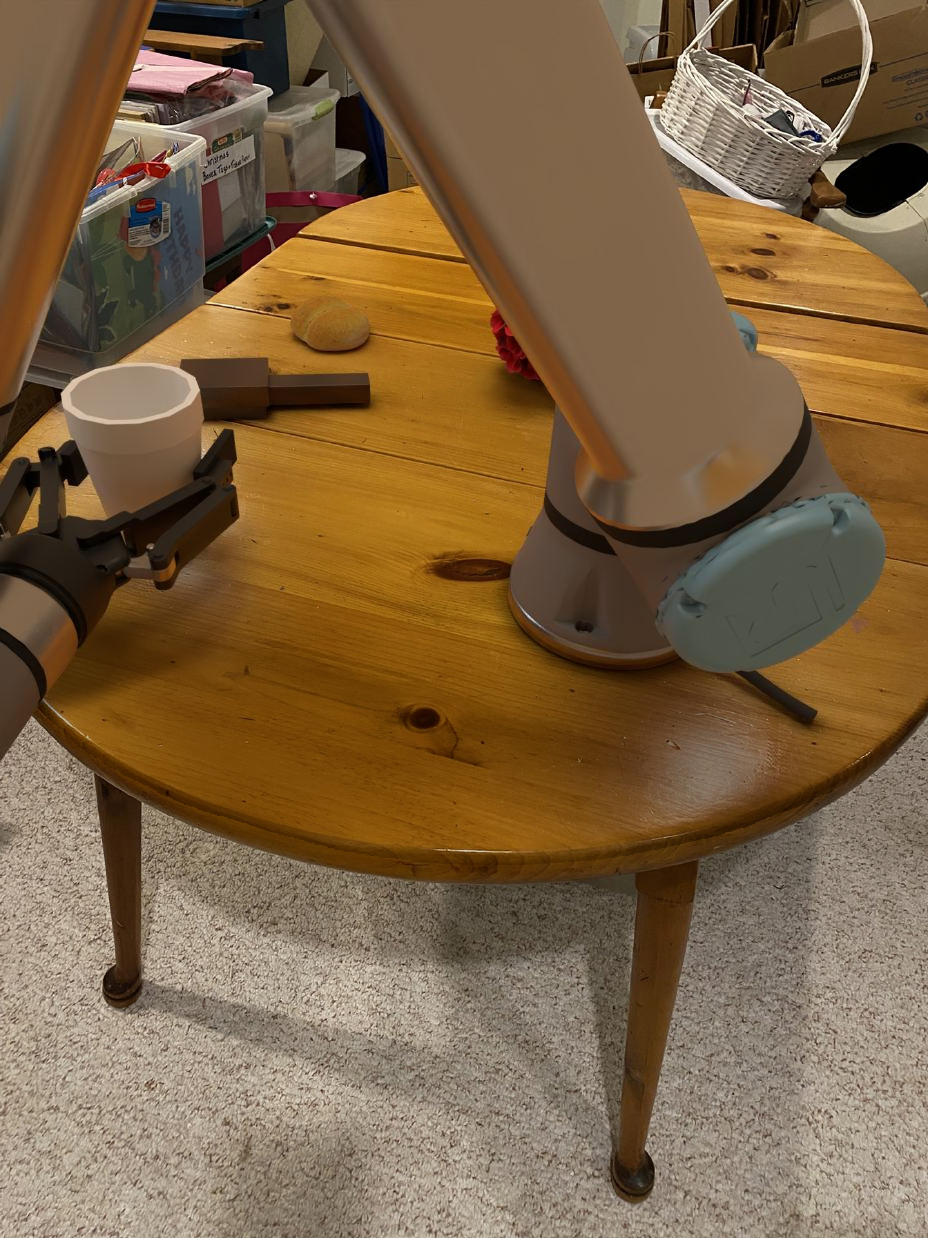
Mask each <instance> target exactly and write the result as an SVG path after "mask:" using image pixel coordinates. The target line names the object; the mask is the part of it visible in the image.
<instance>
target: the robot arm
mask: <svg viewBox="0 0 928 1238" xmlns="http://www.w3.org/2000/svg"><path fill="white" fill-rule="evenodd" d="M302 2H303V4H304V5H305V7H306V8H307V10H308V12H309V13H310V15H311V16H312V17H313V19H314V21H315V23H316V24H317V25H318V28H319V29H320V30H321V32H322V34H323V35H324V37H325V38H326V40H327V41H328V43H329V45H330V47H331V48H332V50H333V51H334V53H335V54H336V56H337V58H338V59H339V61H340V62H341V64H342V65H343V67H344V69H345V70H346V72H347V73H348V75H349V76H350V78H351V79H352V81H353V83H354V84H355V86H356V87H357V89H358V91H359V93H360V94H361V95H362V97H363V99H364V101H365V102H366V103H367V105H368V107H369V108H370V110H371V112H372V113H373V115H374V117H375V118H376V120H377V121H378V123H379V124H380V126H381V127H382V129H383V131H384V132H385V134H386V135H387V137H388V138H389V140H390V143H392V145H393V146H394V148H395V150H396V151H397V153H398V154H399V156H400V158H401V159H402V161H403V162H404V164H405V166H406V167H407V169H408V171H409V172H410V173H411V175H412V177H413V178H414V180H415V182H416V183H417V185H418V186H419V188H420V190H421V192H422V193H423V194H424V196H425V197H426V199H427V201H428V203H429V204H430V206H431V207H432V209H433V210H434V211H435V213H436V215H437V216H438V218H439V220H440V221H441V223H442V224H443V226H444V228H445V229H446V231H447V232H448V234H449V236H450V237H451V239H452V240H453V242H454V244H455V245H456V247H457V249H458V250H459V252H460V253H461V254H462V256H463V258H464V259H465V261H466V262H467V264H468V266H469V267H470V269H471V270H472V272H473V274H474V275H475V276H476V278H477V280H478V282H479V284H480V285H481V286H482V288H483V290H484V291H485V293H486V294H487V296H488V297H489V299H490V301H491V302H492V304H493V306H494V307H495V310H496V309H497V310H498V312H499V313H500V315H501V317H502V318H503V320H504V321H505V323H506V325H507V326H508V328H509V329H510V331H511V332H512V334H513V336H514V337H515V339H516V340H517V342H518V344H519V345H520V347H521V348H522V350H523V352H524V353H525V355H526V356H527V358H528V359H529V361H530V363H531V364H532V366H533V367H534V369H535V371H536V372H537V374H538V375H539V377H540V379H541V380H542V381H541V382H542V383H543V385H544V386H545V389H546V390H547V391H548V393H549V395H550V396H551V398H552V399H553V401H554V403H555V406H554V415H553V424H552V431H551V437H550V447H549V448H550V449H549V454H548V455H549V456H548V464H547V473H546V478H545V479H546V480H545V488H544V495H543V496H544V497H543V503H542V507H541V509H540V511H539V513H538V515H537V517H536V518H535V520H534V522H533V524H532V525H531V526H530V527H529V529H528V532H527V533H526V535H525V540H524V542H523V544H522V547H521V548H520V549H519V550H518V551H517V554H516V555H515V557H514V560H513V562H512V564H511V567H510V570H509V580H508V588H507V599H508V605H509V608H510V609H509V610H510V612H511V614H512V616H513V617H514V619H515V621H516V622H517V624H518V625H519V626H520V628H521V629H522V630H523V632H525V634H527V635H528V636H529V638H531V639H532V640H534V641H535V642H536V643H537V644H538V645H540V646H542V647H543V648H544V649H547V650H548V651H550V652H552V653H554V654H556V655H558V656H560V657H561V658H564V659H567V660H570V661H572V662H575V663H578V664H581V665H585V666H589V667H594V668H601V669H605V670H616V671H617V670H618V671H619V670H621V671H626V670H627V671H631V670H643V669H651V668H655V667H660V666H662V665H666V664H667V663H672V662H674V661H676V660H677V659H680V658H681V659H682V660H683V661H685V662H686V663H687V664H689V665H690V666H692V667H695V668H697V669H699V670H703V671H706V672H710V673H717V674H719V673H720V674H730V673H731V674H732V673H735V674H737V675H738V676H740V678H742V679H744V680H745V681H747V682H748V683H749V684H751V685H752V686H753V687H754V688H756V689H757V690H758V691H760V692H761V693H763V694H764V695H765V696H767V697H768V698H770V699H771V700H773V701H774V702H776V703H777V704H779V705H780V706H782V707H783V708H785V709H786V710H788V711H790V712H791V713H793V714H795V715H797V716H798V717H799V718H802V720H805V721H807V722H809V723H812V722H813V721H814V720H815V719H816V717H817V715H818V713H819V711H818V710H817V709H815V708H813V707H812V706H811V705H808V704H807V703H805V702H803V701H801V700H799V699H798V698H796V697H795V696H793V695H791V694H790V693H788V692H787V691H785V690H784V689H782V688H781V687H780V686H778V685H776V684H775V683H774V682H772V681H771V680H770V679H768V678H767V677H765V676H764V674H762V673H760V672H758V671H759V670H763V669H766V668H770V667H772V666H777V665H779V664H782V663H784V662H787V661H789V660H791V659H794V658H795V657H797V656H800V655H802V654H804V653H806V652H807V651H808V650H810V649H812V648H814V647H816V646H817V645H819V644H821V643H822V642H823V641H825V640H827V639H828V638H829V637H831V636H832V635H833V634H835V633H836V632H837V631H838V630H839V629H841V628H842V627H843V626H844V625H845V624H847V622H849V621H850V620H851V619H852V617H853V616H855V614H856V613H857V611H858V609H859V608H860V606H861V605H862V604H864V602H865V601H866V600H867V599H868V598H869V597H870V596H871V595H872V593H873V592H874V590H875V588H876V586H877V585H878V583H879V581H880V578H881V576H882V574H883V570H884V566H885V562H886V558H887V542H886V537H885V534H884V531H883V528H882V527H881V526H880V524H879V523H878V521H877V520H876V518H875V517H874V516H873V511H872V507H871V506H870V504H869V503H867V501H866V500H864V498H862V496H860V495H858V494H856V493H852V491H850V490H849V488H848V487H847V486H846V485H845V483H844V482H843V480H842V479H841V478H840V476H839V475H838V473H837V471H836V470H835V468H834V466H833V465H832V462H831V461H830V459H829V457H828V454H827V452H826V450H825V449H826V448H825V447H824V445H823V442H822V439H821V437H820V435H819V432H818V429H817V426H816V424H815V422H814V418H813V417H812V414H811V411H810V409H809V406H808V404H807V401H806V399H805V396H804V394H803V391H802V388H801V385H800V384H799V382H798V380H797V377H796V376H795V375H794V373H793V372H792V371H791V370H790V369H789V367H788V366H786V365H785V364H784V363H782V362H781V361H780V360H778V359H775V358H774V357H771V356H769V355H767V354H763V353H760V352H758V351H757V348H758V342H759V333H758V329H757V328H756V326H755V324H754V323H753V322H752V321H751V320H750V319H749V318H747V317H746V316H745V315H742V314H741V313H739V312H737V311H735V310H733V309H730V308H729V305H728V302H727V300H726V297H725V296H724V293H723V291H722V288H721V286H720V284H719V282H718V279H717V277H716V274H715V272H714V269H713V267H712V265H711V263H710V261H709V258H708V256H707V253H706V250H705V248H704V246H703V244H702V241H701V239H700V236H699V234H698V232H697V230H696V227H695V225H694V222H693V220H692V218H691V215H690V213H689V211H688V208H687V205H686V202H685V201H684V198H683V196H682V193H681V192H680V189H679V186H678V184H677V182H676V179H675V177H674V175H673V173H672V170H671V168H670V165H669V163H668V160H667V158H666V156H665V153H664V152H663V149H662V147H661V144H660V141H659V139H658V137H657V135H656V132H655V130H654V127H653V126H652V125H653V124H652V123H651V121H650V118H649V116H648V114H647V110H646V109H645V106H644V104H643V101H642V99H641V97H640V94H639V92H638V89H637V87H636V85H635V82H634V80H633V78H632V75H631V73H630V71H629V68H628V66H627V64H626V61H625V59H624V57H623V54H622V52H621V49H620V47H619V45H618V43H617V40H616V38H615V35H614V33H613V30H612V28H611V26H610V23H609V21H608V19H607V17H606V14H605V12H604V9H603V7H602V4H601V3H600V0H302ZM157 3H158V0H0V455H1V454H2V451H3V449H4V447H5V444H6V442H7V438H8V432H9V427H10V424H11V421H12V419H13V416H14V414H15V410H16V407H17V404H18V398H19V396H20V392H21V390H22V388H23V384H24V382H25V378H26V376H27V373H28V370H29V367H30V364H31V360H32V358H33V356H34V353H35V350H36V347H37V345H38V344H37V343H38V342H39V339H40V336H41V333H42V330H43V327H44V324H45V321H46V319H47V315H48V313H49V310H50V307H51V304H52V302H53V299H54V295H55V293H56V290H57V288H58V284H59V281H60V279H61V275H62V272H63V270H64V268H65V264H66V261H67V258H68V256H69V253H70V250H71V247H72V245H73V242H74V239H75V235H76V234H77V230H78V227H79V225H80V222H81V219H82V217H83V213H84V210H85V207H86V205H87V202H88V199H89V196H90V193H91V192H92V191H91V190H92V187H93V184H94V181H95V179H96V176H97V173H98V170H99V167H100V164H101V162H102V159H103V156H104V153H105V150H106V148H107V145H108V142H109V139H110V137H111V134H112V131H113V127H114V126H115V122H116V119H117V116H118V113H119V111H120V108H121V105H122V102H123V100H124V97H125V93H126V91H127V88H128V85H129V82H130V79H131V76H132V73H133V70H134V67H135V65H136V62H137V60H138V57H139V54H140V51H141V48H142V46H143V42H144V41H145V37H146V34H147V32H148V28H149V25H150V22H151V19H152V16H153V14H154V11H155V9H156V6H157ZM234 430H235V429H232V428H226V427H225V428H223V429H222V431H220V433H219V435H218V436H217V437H216V438H215V440H214V441H213V443H212V444H211V446H210V447H209V448H208V449H207V451H206V452H205V454H204V455H203V457H201V461H200V462H199V464H198V465H197V466H196V468H195V469H194V470H193V478H194V482H192V483H190V484H188V485H186V486H184V487H182V488H180V489H178V490H176V491H174V492H172V493H170V494H168V495H166V496H164V497H162V498H160V499H159V500H157V501H155V502H153V503H151V504H149V505H147V506H145V507H143V508H141V509H139V510H137V511H135V512H133V513H129V512H127V511H122V512H120V513H118V514H116V515H114V516H112V517H110V518H108V519H107V518H106V519H87V518H83V517H81V516H78V515H77V516H76V515H70V514H67V498H66V497H67V496H66V485H65V481H66V482H67V485H68V486H70V487H77V488H78V487H79V486H80V485H81V484H83V482H84V481H85V479H86V478H88V476H90V475H89V473H88V470H87V468H86V466H85V463H84V461H83V458H82V456H81V454H80V451H79V449H78V446H77V444H76V442H75V440H74V439H68V440H67V441H64V442H63V443H62V444H61V445H60V446H59V448H58V449H56V448H55V447H53V446H50V445H49V446H42V447H40V448H38V450H37V455H38V459H39V461H36V462H35V461H33V462H31V460H30V458H29V457H26V456H18V457H16V458H14V459H13V460H12V461H11V463H10V465H9V467H8V469H7V471H6V472H5V474H4V477H3V478H2V480H1V482H0V763H1V762H2V761H3V759H4V757H6V755H7V753H8V752H9V750H10V749H11V747H12V746H13V745H14V743H15V741H16V740H17V739H18V737H19V735H20V734H21V733H22V731H23V730H24V728H25V727H26V725H27V724H28V722H29V721H30V719H32V717H33V715H34V714H35V712H36V711H37V709H38V708H39V705H40V704H41V702H42V701H43V700H44V699H45V697H46V696H47V695H48V693H49V692H50V691H51V689H52V687H54V685H55V683H56V682H57V681H58V679H59V678H60V676H61V675H62V673H63V672H64V671H65V669H66V668H67V667H68V665H69V664H70V662H71V661H72V659H73V657H74V656H75V654H76V652H77V651H78V650H79V649H80V648H81V647H82V646H83V645H84V644H85V642H86V641H87V640H88V637H89V636H90V635H91V634H92V632H93V631H94V630H95V628H96V626H97V625H98V624H99V622H100V621H101V619H102V618H103V617H104V615H105V613H106V612H107V609H108V607H109V604H110V601H111V599H112V596H113V594H114V593H115V591H118V589H120V588H121V587H123V586H125V585H127V584H128V583H129V582H130V581H132V579H140V580H151V581H152V580H153V584H154V589H156V590H157V591H162V592H163V591H164V592H165V591H168V590H170V589H172V588H173V587H174V585H175V583H176V582H177V581H176V580H177V579H178V577H179V575H180V572H181V570H183V569H184V568H185V567H186V566H187V565H188V564H190V563H191V562H192V561H193V560H194V559H195V558H196V557H197V556H199V555H200V554H201V553H202V552H203V551H204V550H205V549H207V547H209V546H210V545H211V544H212V543H213V542H214V541H216V540H217V538H219V537H220V536H221V535H222V534H223V533H224V532H226V531H227V530H228V529H229V528H230V527H231V526H232V525H233V524H234V523H236V521H238V520H239V519H240V517H241V515H240V506H239V505H240V504H239V499H238V498H239V497H238V492H237V486H236V485H235V484H232V483H233V482H234V480H235V479H234V472H233V467H234V465H235V464H236V462H237V461H238V455H237V447H236V439H235V431H234ZM38 490H39V503H38V505H37V506H38V512H37V513H38V515H37V516H38V521H37V526H35V527H33V528H30V529H28V530H25V531H23V532H20V529H21V527H22V525H23V522H24V520H25V519H26V517H27V514H28V511H29V510H30V508H31V505H32V503H33V501H34V498H35V497H36V494H37V492H38ZM121 531H123V535H124V539H125V542H124V539H123V536H122V534H121ZM19 532H20V533H19ZM125 543H126V544H125Z"/></svg>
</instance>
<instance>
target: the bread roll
mask: <svg viewBox="0 0 928 1238" xmlns="http://www.w3.org/2000/svg"><path fill="white" fill-rule="evenodd" d="M289 321H290V323H289V324H290V327H291V329H292V332H293V333H294V334H295V336H296V337H297V338H298V339H300V340H301V341H303V342H305V343H306V344H307V345H308V346H309V347H311V348H313V349H315V350H318V351H323V352H329V351H330V352H343V351H350V350H353V349H355V348H358V347H360V346H361V345H363V344H364V343H365V342H366V341H367V339H368V338H369V336H370V333H371V330H370V328H371V327H370V326H371V325H370V321H369V318H368V317H367V315H366V313H365V312H363V311H361V310H359V309H356V308H353V307H352V306H350V305H349V303H347V302H346V301H345V300H342V299H341V298H339V297H336V296H331V295H316V296H314V297H311V298H308V299H306V300H304V302H302V304H300V305H299V306H298V307H296V308H295V309H294V311H293V312H292V315H291V316H290V320H289Z"/></svg>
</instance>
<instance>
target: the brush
mask: <svg viewBox="0 0 928 1238" xmlns="http://www.w3.org/2000/svg"><path fill="white" fill-rule="evenodd" d="M179 368H180V369H182V370H183V371H185V372H187V373H188V374H190V375H192V376H194V377H195V379H196V381H197V384H198V387H199V389H200V395H201V402H202V408H203V415H204V420H203V421H220V420H221V421H223V420H255V419H256V420H257V419H258V420H259V419H260V420H261V419H268V407H271V406H289V405H291V406H294V405H325V404H326V405H329V404H362V403H363V404H364V403H365V404H366V403H367V404H368V403H371V381H370V375H369V373H368V372H347V373H346V372H343V373H341V372H340V373H339V372H337V373H304V374H303V373H300V374H299V373H297V374H296V373H295V374H294V373H293V374H270V364H269V357H267V356H266V357H263V356H262V357H221V358H220V357H216V358H215V357H213V358H181V360H180V364H179Z"/></svg>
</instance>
